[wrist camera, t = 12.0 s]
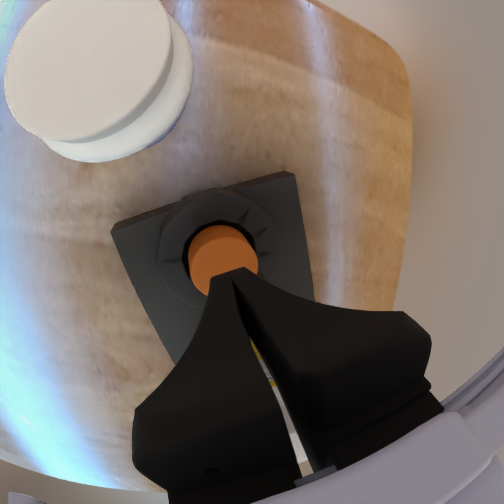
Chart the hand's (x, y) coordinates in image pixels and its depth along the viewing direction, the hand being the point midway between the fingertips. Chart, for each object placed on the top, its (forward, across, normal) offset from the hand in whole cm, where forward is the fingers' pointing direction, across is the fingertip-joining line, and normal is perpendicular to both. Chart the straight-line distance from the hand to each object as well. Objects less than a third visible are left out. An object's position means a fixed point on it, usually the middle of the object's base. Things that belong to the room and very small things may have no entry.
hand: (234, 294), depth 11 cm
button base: (+6, 0, +4) cm, 8 cm away
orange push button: (+4, 0, 0) cm, 4 cm away
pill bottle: (+7, +2, -8) cm, 11 cm away
